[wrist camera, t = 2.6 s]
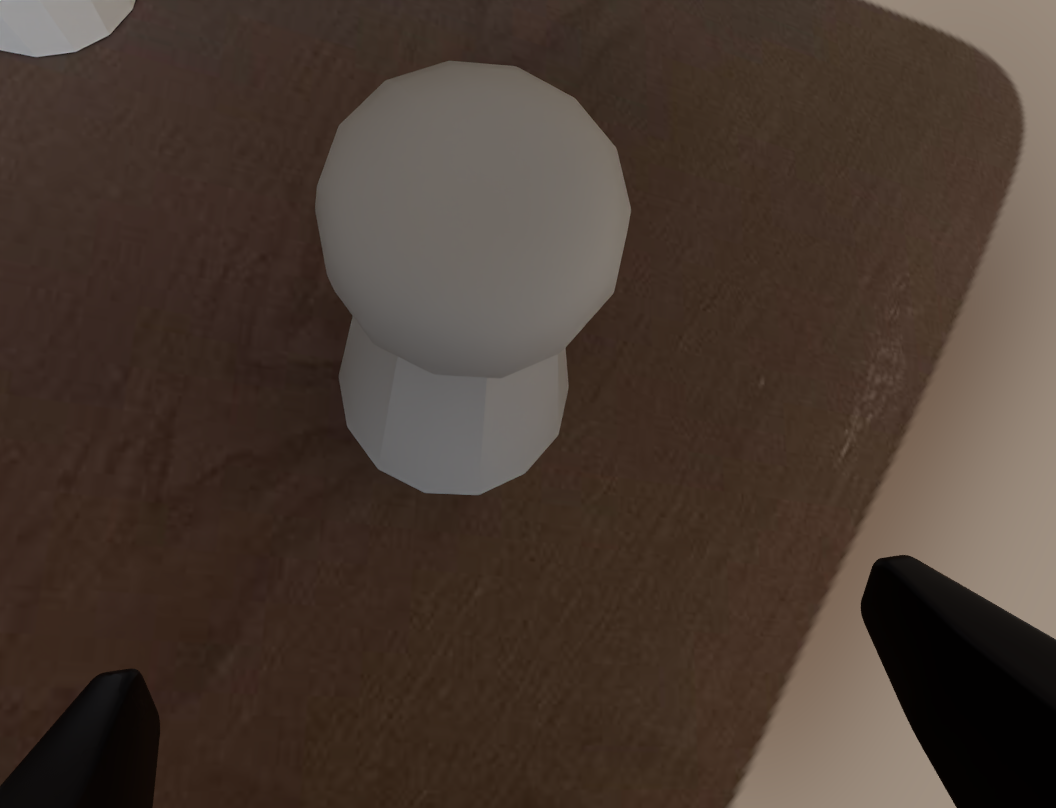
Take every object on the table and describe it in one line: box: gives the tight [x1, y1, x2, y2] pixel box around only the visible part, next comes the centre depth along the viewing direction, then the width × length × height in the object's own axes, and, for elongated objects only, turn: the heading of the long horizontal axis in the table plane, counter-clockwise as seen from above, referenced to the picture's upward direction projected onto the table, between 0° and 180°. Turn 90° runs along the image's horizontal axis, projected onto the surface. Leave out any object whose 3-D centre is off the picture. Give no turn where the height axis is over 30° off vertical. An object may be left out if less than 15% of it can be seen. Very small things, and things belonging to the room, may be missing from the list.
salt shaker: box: [315, 61, 631, 495], centre depth 16 cm, size 6×6×13 cm
